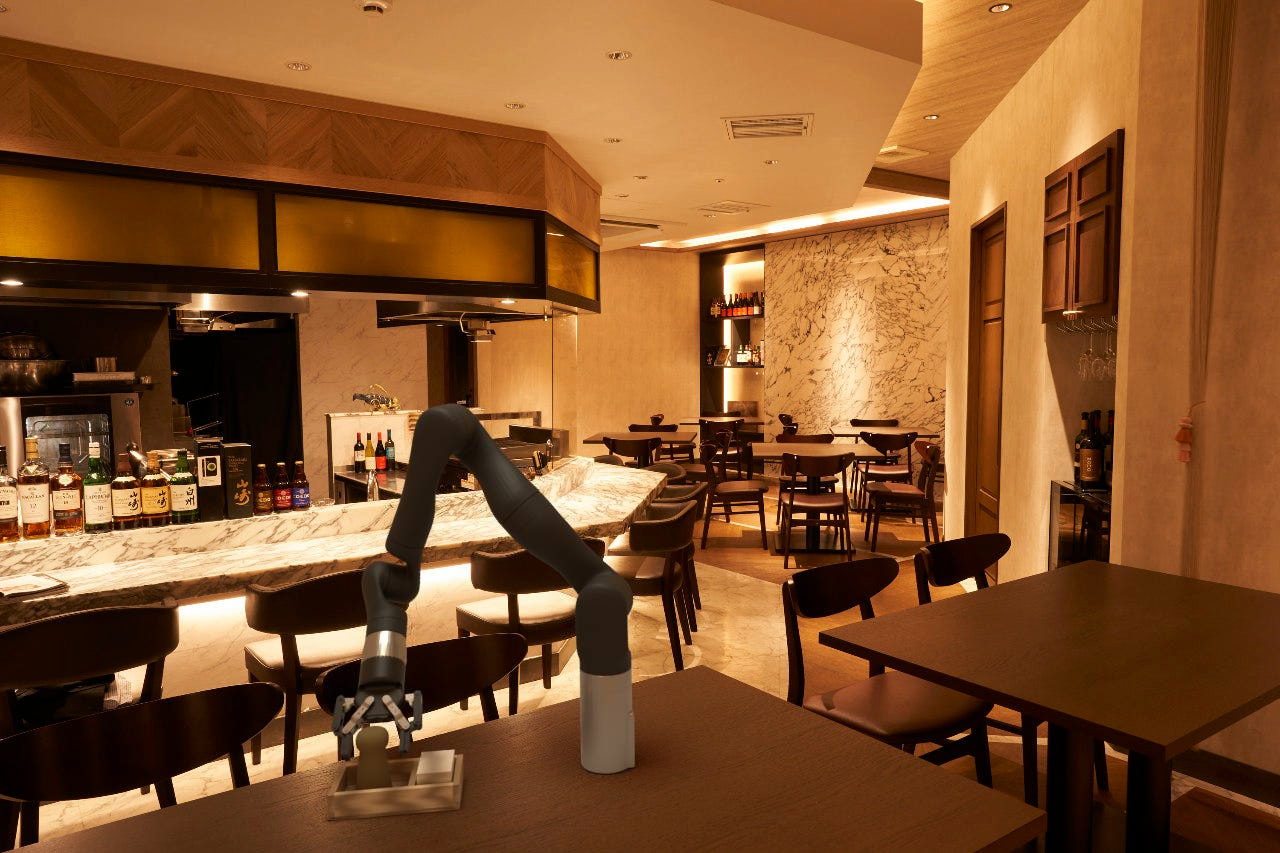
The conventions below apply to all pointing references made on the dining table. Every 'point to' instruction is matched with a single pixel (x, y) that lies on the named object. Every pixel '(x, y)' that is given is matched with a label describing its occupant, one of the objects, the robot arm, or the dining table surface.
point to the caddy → (400, 788)
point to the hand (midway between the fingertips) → (374, 757)
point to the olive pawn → (373, 759)
